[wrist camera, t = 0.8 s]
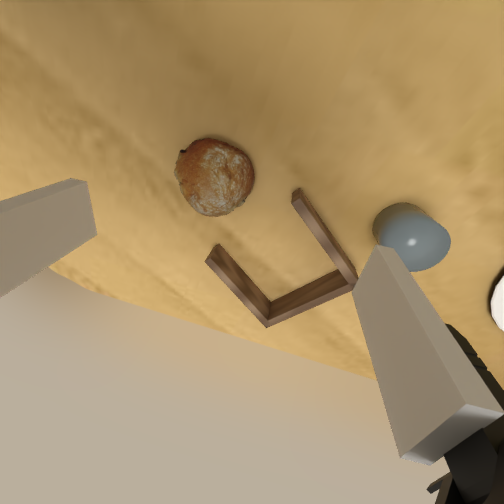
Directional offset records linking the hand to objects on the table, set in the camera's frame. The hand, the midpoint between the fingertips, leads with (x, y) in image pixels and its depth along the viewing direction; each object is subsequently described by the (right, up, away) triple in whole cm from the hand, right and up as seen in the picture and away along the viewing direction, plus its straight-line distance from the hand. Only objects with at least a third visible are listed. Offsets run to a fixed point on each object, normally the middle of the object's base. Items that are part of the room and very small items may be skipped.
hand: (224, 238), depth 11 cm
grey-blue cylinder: (+21, +3, +22) cm, 31 cm away
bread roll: (-4, +10, +23) cm, 25 cm away
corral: (+6, -1, +27) cm, 28 cm away
